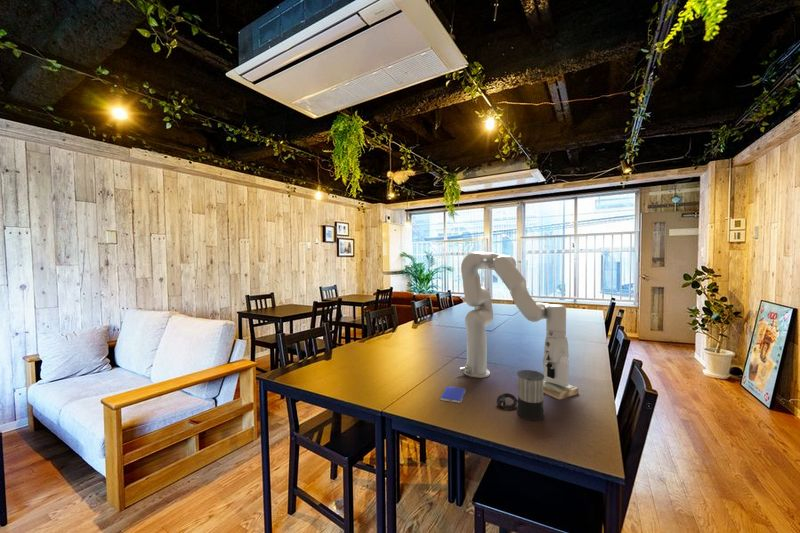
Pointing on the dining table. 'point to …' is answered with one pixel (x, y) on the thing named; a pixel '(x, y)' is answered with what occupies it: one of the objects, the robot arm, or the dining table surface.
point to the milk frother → (527, 395)
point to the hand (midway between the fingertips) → (555, 375)
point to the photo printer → (558, 372)
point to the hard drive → (453, 394)
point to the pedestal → (559, 390)
